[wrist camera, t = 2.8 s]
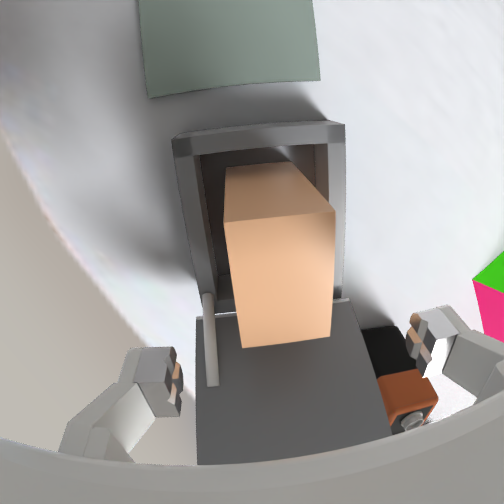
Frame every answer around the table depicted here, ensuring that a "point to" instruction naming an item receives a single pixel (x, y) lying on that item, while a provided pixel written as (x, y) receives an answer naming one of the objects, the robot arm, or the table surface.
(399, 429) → the battery
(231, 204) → the block
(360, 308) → the table surface
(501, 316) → the pyramid toy
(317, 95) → the table surface
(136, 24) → the table surface
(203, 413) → the equipment case
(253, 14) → the rubber mat
